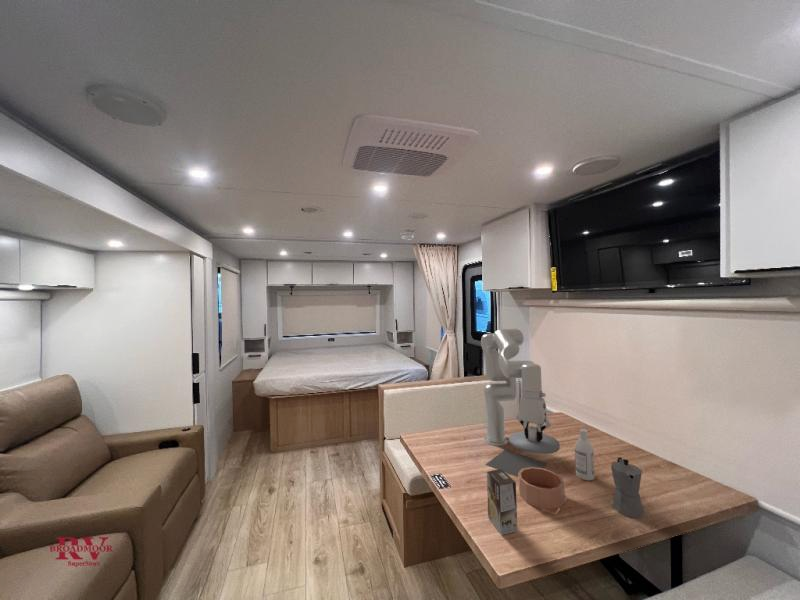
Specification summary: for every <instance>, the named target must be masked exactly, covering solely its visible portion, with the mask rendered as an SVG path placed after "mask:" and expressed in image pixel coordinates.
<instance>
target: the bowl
mask: <svg viewBox="0 0 800 600" xmlns="http://www.w3.org/2000/svg"><path fill="white" fill-rule="evenodd" d="M517 482H518V493H519V496H520V498H522V499H523V500H524V502H525V503H527V504H529V505H531V506H533V507H535V508H538V509H541V510H542V509H543V510H545V509H550V510H552V509H560V508H561V509H562V507H563V506H564V504H565V503H566V499H565V497H566V496H565V482H564V480H563V478H562V476H560V475H559V474H557V473H555V471H552V470H549V469H546V468H536V467H528V468H523V469H521V470H520V471H519V472H518V477H517Z"/></svg>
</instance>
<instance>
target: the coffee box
mask: <svg viewBox="0 0 800 600" xmlns="http://www.w3.org/2000/svg"><path fill="white" fill-rule="evenodd" d="M486 483H487V484H486V487H487V488H486V491H487V492H486V493H487V518H488V519H489V521H490V522H491V523H492V525H493V526H494V527H495V529H496V530H497V531H498V532H499V534H500V535H501V536H502V535H507V534H513V533H517V532H518V514H517V513H518V511H517V509H518V508H517V507H518V506H517V482H516V481H515V480H514V479H513V478H512V477H511V475H510V476H509V474H508V473H506V472H504V471H503V470H502V469H499V470H498V469H492V470H490V471H486Z"/></svg>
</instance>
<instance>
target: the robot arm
mask: <svg viewBox="0 0 800 600" xmlns="http://www.w3.org/2000/svg"><path fill="white" fill-rule="evenodd" d="M524 337H525V336H524V334H523V332H522V331H521V330H520V329H518V328H500V329H497V330H495V332H494V333H493V332H492V333H484V334H483V335H482V336H481V339H480V346H481V348H482V352H483V355H484V367H485V377H486V379H487V380H488V381H490V382H498V383H488V384H486V385H485V386H484V388H483V393H484V399H485V410H486V411H485V413H486V414H485V415H486V416H485V417H486V435H485V436H484V437H483V440H484V443H487V444H488V445H491V446H496V447H503V446H507V445H508V443H509V439H508V438H506V434H507V433H508V431H507V429H505V428H506V427H505V410H504V407H503V406H502V404H501V403H500V402H514V401H515V400H516V399H517V397H518V395H517V394H518V392H517V379H521V393H522V395H521V396H520V399H519V406H518V408H519V409H518V411H519V413H518V414H517V415H516V416H515V419H516V420H517V421H518V422H519V423H520V425H522V427H523V429H524V430H523V431H524V432H525V436H526V439H528V427H529V426H530V424H536V427H537V428H538V431H537V441H538V442H540V441H541V440H542V439H543V434H544V433H543V431H545V429H548V428H550V427H552V424H551V422H550V420H549V419H548V410H547V405H546V400H545V397H546V393H545V392H543V390H542V389H543V388H542V387H543V386H542V384H543V383H542V368H541V366H540V365H539V364H537V363H534V362H533V361H532V360H511V359H513V358H516V356H517V355H518V354H519V353H520V346H521V345H522V344H523V342H524V339H525V338H524ZM497 349H498V350H499V351H500V352H499V351H498V350H497ZM499 382H500V383H499ZM501 382H503V383H501ZM504 382H505V383H504Z"/></svg>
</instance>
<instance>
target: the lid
mask: <svg viewBox="0 0 800 600" xmlns="http://www.w3.org/2000/svg"><path fill="white" fill-rule="evenodd" d="M537 431H538V428H537V426H533V425H532V426H531V425H529V427H528V439H526V436H525V432H524V430H523V431H516V432H513V433H510V434H509V437H508V443H510V445H511V446H513V447H514V448H515V449H518V450H520V451H523V452H527V453H531V454H537V455H538V454H539V455H549V454H554V453H556V452H559V450H560V447H561V446H560V442H559V441H558V440H557V439H556V438H555V437H553V436H551V435H548V434H545V433H542V434H543V439H542V440H541V441H540V442H538V441H537Z"/></svg>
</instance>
